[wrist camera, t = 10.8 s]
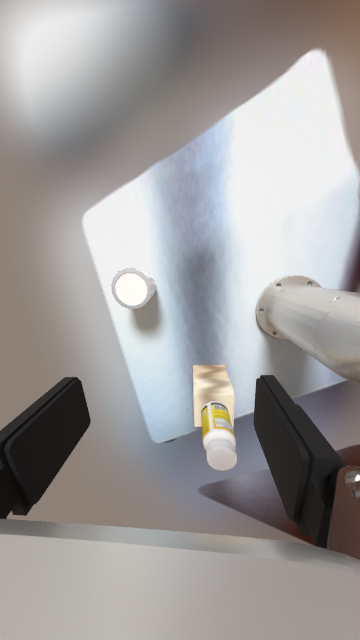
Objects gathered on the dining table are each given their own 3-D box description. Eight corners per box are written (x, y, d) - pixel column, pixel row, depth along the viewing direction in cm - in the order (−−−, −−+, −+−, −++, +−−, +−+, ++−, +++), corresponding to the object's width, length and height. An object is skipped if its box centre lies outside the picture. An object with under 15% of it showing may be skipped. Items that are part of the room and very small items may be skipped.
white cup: (146, 261, 35) (134, 259, 28) (165, 290, 36) (159, 295, 29) (119, 280, 36) (102, 283, 30) (139, 308, 38) (127, 316, 31)
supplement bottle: (207, 425, 32) (212, 476, 24) (196, 405, 31) (197, 452, 23) (232, 416, 31) (245, 467, 23) (221, 396, 30) (231, 442, 22)
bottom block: (224, 364, 40) (228, 377, 35) (223, 391, 42) (227, 407, 37) (193, 365, 40) (193, 377, 36) (194, 391, 42) (193, 406, 37)
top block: (229, 377, 35) (234, 394, 30) (228, 407, 37) (233, 427, 32) (193, 377, 36) (193, 394, 31) (194, 406, 37) (194, 426, 33)
